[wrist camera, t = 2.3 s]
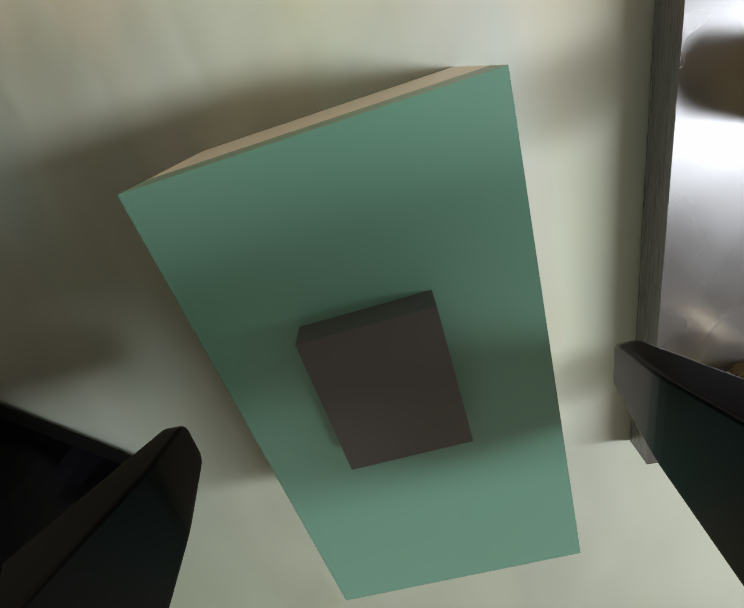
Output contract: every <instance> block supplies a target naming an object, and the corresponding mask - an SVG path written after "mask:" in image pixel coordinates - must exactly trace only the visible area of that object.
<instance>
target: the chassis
mask: <svg viewBox="0 0 744 608" xmlns="http://www.w3.org/2000/svg"><path fill="white" fill-rule="evenodd" d="M636 340H639V341H643V342H645V343H648V344H651V345H654V346H656V347H659V348H662V349H664V350H667V351H670V352H673V353H675V354H678V355H681V356H683V357H686V358H689V359H692V360H694V361H697V362H700V363H703V364H705V365H708V366H711V367H713V368H716V369H719V370H722V371H724V372H727V373H730V374H733V375H735V376H738V377H741V378H743V379H744V0H655V16H654V34H653V51H652V69H651V87H650V104H649V122H648V139H647V157H646V175H645V192H644V210H643V228H642V245H641V263H640V281H639V298H638V316H637V333H636ZM630 441H631V443H632V444H633V445H634V447H635V448H636V450H637V451H638V452H639V454H640V455H641V456H642V458H643V459H644V461H645V462H646V463H647V464H652V463H658V462H657V460H656V459H655V457H654V456H653V454H652V453H651V451H650V449H649V447H648V446H647V444H646V442H645V440H644V438H643V436H642V435H641V433H640V431H639V429H638V427H637V425H636V424H635V422H634V420H633V418H632V422H631V439H630Z"/></svg>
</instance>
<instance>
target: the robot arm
mask: <svg viewBox="0 0 744 608" xmlns="http://www.w3.org/2000/svg"><path fill="white" fill-rule="evenodd" d="M614 382H615V386H616V388H617V390H618V392H619V394H620V396H621V398H622V400H623V401H624V403H625V405H626V407H627V409H628V411H629V412H630V414H631V416H632V418H633V420H634V422H635V424H636V425H637V427H638V429H639V431H640V433H641V435H642V436H643V438H644V440H645V442H646V444H647V446H648V447H649V449H650V451H651V453H652V454H653V456H654V457H655V459H656V460H657V462H658V463H659V465H660V466H661V468H662V469H663V471H664V472H665V474H666V475H667V476H668V478H669V479H670V481H671V482H672V484H673V485H674V487H675V488H676V489H677V491H678V492H679V494H680V495H681V497H682V498H683V499H684V501H685V502H686V504H687V505H688V507H689V508H690V510H691V511H692V512H693V514H694V515H695V517H696V518H697V520H698V521H699V522H700V524H701V525H702V527H703V528H704V530H705V531H706V533H707V534H708V535H709V537H710V538H711V540H712V541H713V543H714V544H715V545H716V547H717V548H718V550H719V551H720V553H721V554H722V556H723V557H724V558H725V560H726V561H727V563H728V564H729V566H730V567H731V568H732V570H733V571H734V573H735V574H736V576H737V577H738V579H739V580H740V581H741V583H742V584H743V586H744V379H743V378H741V377H738V376H735V375H733V374H730V373H727V372H724V371H722V370H719V369H716V368H713V367H711V366H708V365H705V364H703V363H700V362H697V361H694V360H692V359H689V358H686V357H683V356H681V355H678V354H675V353H673V352H670V351H667V350H664V349H662V348H659V347H656V346H654V345H651V344H648V343H645V342H643V341H639V340H635V341H629V342H624V343H619V344H618V345H617V346H616V347H615V353H614ZM201 464H202V459H201V454H200V452H199V450H198V448H197V446H196V444H195V442H194V440H193V438H192V437H191V435H190V433H189V431H188V429H187V428H185V427H183V426H178V427H173V428H168V429H165V430H163V431H162V432H161V433H159V434H158V435H157V436H156V437H154V438H153V439H152V440H151V441H150V442H148V443H147V444H146V445H145V446H144V447H142V448H141V449H140V450H139V451H138V452H136V453H135V454H134V455H133V456H132V457H131V456H129V455H126V454H124V453H121V452H119V451H116V450H114V449H111V448H109V447H106V446H104V445H101V444H98V443H96V442H93V441H91V440H88V439H86V438H83V437H81V436H78V435H76V434H73V433H70V432H68V431H65V430H63V429H60V428H58V427H55V426H53V425H50V424H48V423H45V422H43V421H40V420H37V419H35V418H32V417H30V416H27V415H25V414H22V413H20V412H17V411H15V410H12V409H9V408H7V407H4V406H2V405H0V608H169V606H170V603H171V599H172V596H173V592H174V588H175V585H176V581H177V578H178V574H179V570H180V567H181V563H182V560H183V556H184V552H185V549H186V545H187V541H188V537H189V533H190V528H191V524H192V518H193V512H194V506H195V500H196V494H197V488H198V483H199V477H200V471H201Z"/></svg>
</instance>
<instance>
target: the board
mask: <svg viewBox="0 0 744 608" xmlns="http://www.w3.org/2000/svg"><path fill="white" fill-rule="evenodd" d="M117 196H118V197H119V199H120V201H121V203H122V204H123V206H124V208H125V210H126V212H127V213H128V215H129V217H130V219H131V220H132V222H133V224H134V226H135V227H136V229H137V231H138V233H139V235H140V236H141V238H142V240H143V242H144V243H145V245H146V247H147V249H148V250H149V252H150V254H151V256H152V258H153V259H154V261H155V263H156V265H157V266H158V268H159V270H160V272H161V273H162V275H163V277H164V279H165V280H166V282H167V284H168V286H169V288H170V289H171V291H172V293H173V295H174V296H175V298H176V300H177V302H178V303H179V305H180V307H181V309H182V311H183V312H184V314H185V316H186V318H187V319H188V321H189V323H190V325H191V326H192V328H193V330H194V332H195V334H196V335H197V337H198V339H199V341H200V342H201V344H202V346H203V348H204V349H205V351H206V353H207V355H208V357H209V358H210V360H211V362H212V364H213V365H214V367H215V369H216V371H217V372H218V374H219V376H220V378H221V380H222V381H223V383H224V385H225V387H226V388H227V390H228V392H229V394H230V395H231V397H232V399H233V401H234V403H235V404H236V406H237V408H238V410H239V411H240V413H241V415H242V417H243V418H244V420H245V422H246V424H247V425H248V427H249V429H250V431H251V433H252V434H253V436H254V438H255V440H256V441H257V443H258V445H259V447H260V448H261V450H262V452H263V454H264V456H265V457H266V459H267V461H268V463H269V464H270V466H271V468H272V470H273V471H274V473H275V475H276V477H277V479H278V480H279V482H280V484H281V486H282V487H283V489H284V491H285V493H286V494H287V496H288V498H289V500H290V502H291V503H292V505H293V507H294V509H295V510H296V512H297V514H298V516H299V517H300V519H301V521H302V523H303V525H304V526H305V528H306V530H307V532H308V533H309V535H310V537H311V539H312V540H313V542H314V544H315V546H316V548H317V549H318V551H319V553H320V555H321V556H322V558H323V560H324V562H325V563H326V565H327V567H328V569H329V571H330V572H331V574H332V576H333V578H334V579H335V581H336V583H337V585H338V586H339V588H340V590H341V592H342V593H343V595H344V597H345V599H346V600H350V599H355V598H360V597H365V596H370V595H375V594H380V593H385V592H389V591H394V590H399V589H404V588H409V587H414V586H419V585H424V584H429V583H434V582H439V581H444V580H449V579H454V578H459V577H463V576H468V575H473V574H478V573H483V572H488V571H493V570H498V569H503V568H508V567H513V566H518V565H523V564H528V563H532V562H537V561H542V560H547V559H552V558H557V557H562V556H567V555H572V554H577V553H580V547H579V541H578V534H577V527H576V520H575V513H574V507H573V500H572V493H571V486H570V480H569V473H568V466H567V459H566V453H565V446H564V439H563V432H562V425H561V419H560V412H559V405H558V398H557V392H556V385H555V378H554V371H553V364H552V358H551V351H550V344H549V337H548V331H547V324H546V317H545V310H544V304H543V297H542V290H541V283H540V276H539V270H538V263H537V256H536V249H535V243H534V236H533V229H532V222H531V216H530V209H529V202H528V195H527V188H526V182H525V175H524V168H523V161H522V155H521V148H520V141H519V134H518V128H517V121H516V114H515V107H514V100H513V94H512V87H511V80H510V73H509V67H508V65H489V66H459V67H451V68H448V69H445V70H442V71H439V72H436V73H433V74H430V75H427V76H424V77H421V78H418V79H415V80H412V81H409V82H406V83H403V84H400V85H397V86H394V87H391V88H388V89H385V90H382V91H379V92H376V93H373V94H370V95H367V96H364V97H361V98H359V99H356V100H353V101H350V102H347V103H344V104H341V105H338V106H335V107H332V108H329V109H326V110H323V111H320V112H317V113H314V114H311V115H308V116H305V117H302V118H299V119H296V120H293V121H290V122H287V123H284V124H281V125H278V126H275V127H272V128H269V129H266V130H263V131H261V132H258V133H255V134H252V135H249V136H246V137H243V138H240V139H237V140H234V141H231V142H228V143H225V144H222V145H219V146H216V147H213V148H210V149H207V150H204V151H202V152H200V153H198V154H196V155H194V156H192V157H190V158H188V159H186V160H184V161H182V162H180V163H179V164H177V165H175V166H173V167H171V168H169V169H167V170H165V171H163V172H161V173H159V174H157V175H155V176H153V177H151V178H149V179H147V180H145V181H143V182H141V183H139V184H137V185H135V186H134V187H132V188H130V189H128V190H126V191H124V192H122V193H120V194H118V195H117Z"/></svg>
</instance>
